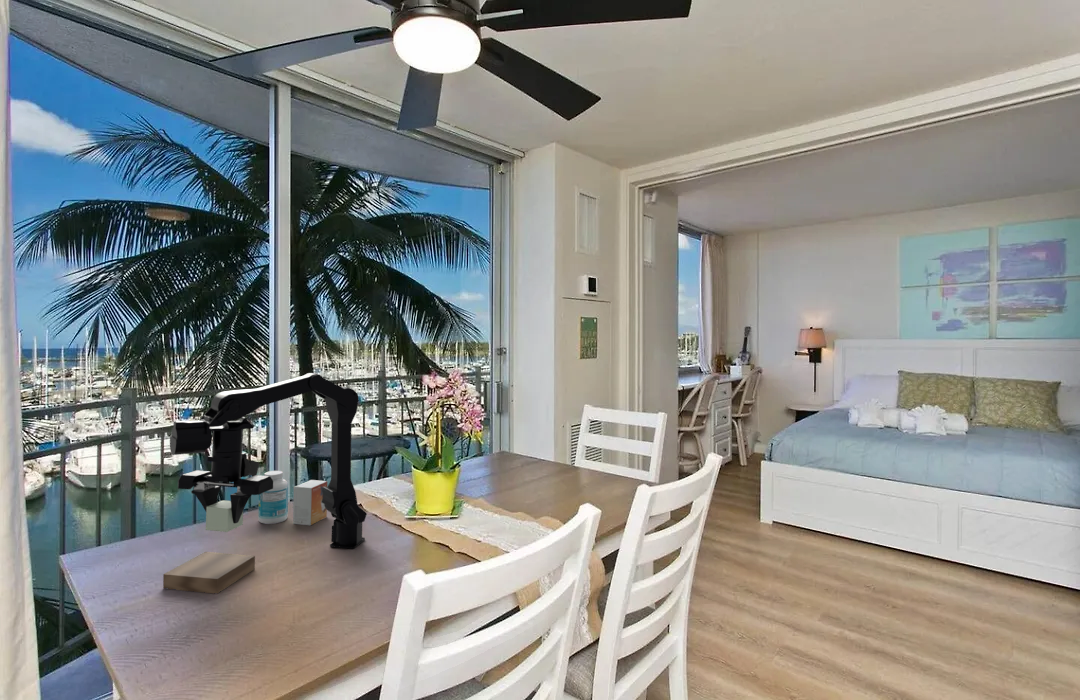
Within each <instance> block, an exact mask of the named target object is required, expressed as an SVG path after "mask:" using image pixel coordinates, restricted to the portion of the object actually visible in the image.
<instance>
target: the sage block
mask: <svg viewBox="0 0 1080 700" xmlns="http://www.w3.org/2000/svg"><path fill="white" fill-rule="evenodd" d="M243 523H244V511H243V512H242V515H241V517H240V519H239V522H238V523H233V518H232V509H231V500H220V501H217V503H215V504H212V505H210V506H207V508H206V511H205V531H210V532H211V531H213V532H220V533H222V532H223V533H228V532H231V531H233V530H235V529H237V528H239V527H241V526H243V525H244V524H243Z"/></svg>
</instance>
